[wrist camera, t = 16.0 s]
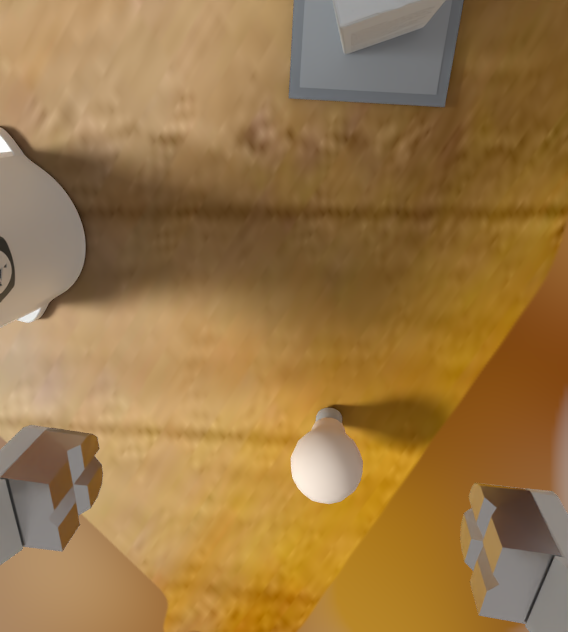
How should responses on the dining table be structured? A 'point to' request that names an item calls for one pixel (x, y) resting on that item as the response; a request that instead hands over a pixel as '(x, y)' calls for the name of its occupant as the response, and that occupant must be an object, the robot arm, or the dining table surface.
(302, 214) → the dining table surface
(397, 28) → the skincare box
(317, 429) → the light bulb
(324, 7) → the plate
